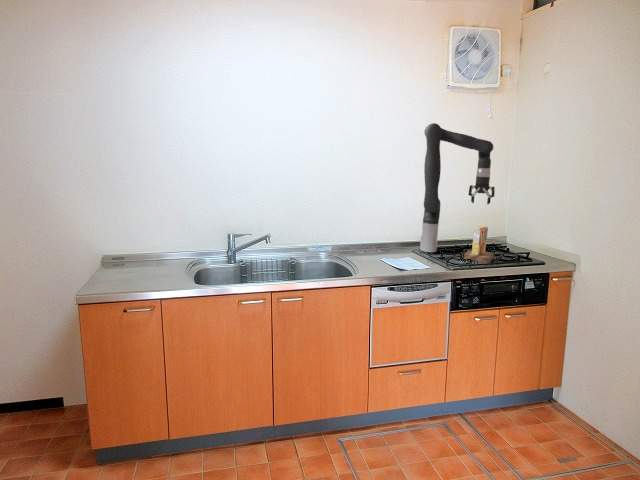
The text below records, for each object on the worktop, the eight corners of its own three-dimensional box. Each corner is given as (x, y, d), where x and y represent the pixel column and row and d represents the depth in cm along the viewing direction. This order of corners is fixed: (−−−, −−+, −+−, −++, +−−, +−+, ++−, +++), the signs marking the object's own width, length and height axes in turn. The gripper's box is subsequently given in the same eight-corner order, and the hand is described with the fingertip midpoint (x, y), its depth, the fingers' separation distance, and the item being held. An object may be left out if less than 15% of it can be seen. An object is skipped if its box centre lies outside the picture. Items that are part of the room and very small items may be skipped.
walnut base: (463, 259, 263) (463, 254, 263) (468, 254, 275) (468, 249, 275) (489, 263, 257) (489, 257, 256) (493, 258, 269) (493, 253, 268)
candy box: (478, 252, 270) (481, 226, 267) (485, 253, 267) (488, 227, 264) (471, 254, 264) (473, 227, 261) (478, 255, 261) (480, 228, 258)
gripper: (469, 175, 271) (466, 203, 274) (495, 176, 264) (492, 205, 267) (471, 174, 277) (469, 202, 281) (496, 176, 271) (494, 203, 274)
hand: (480, 203), depth 274 cm, fingers open, 8 cm apart
